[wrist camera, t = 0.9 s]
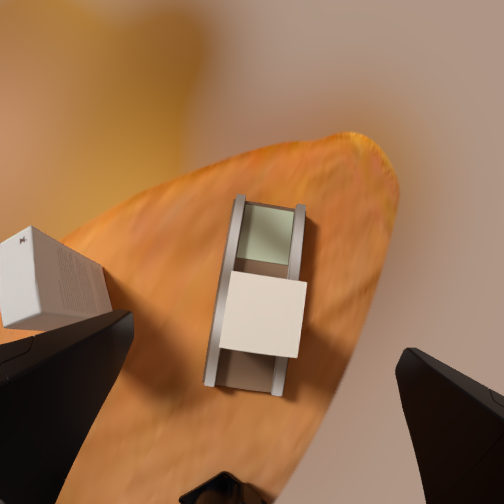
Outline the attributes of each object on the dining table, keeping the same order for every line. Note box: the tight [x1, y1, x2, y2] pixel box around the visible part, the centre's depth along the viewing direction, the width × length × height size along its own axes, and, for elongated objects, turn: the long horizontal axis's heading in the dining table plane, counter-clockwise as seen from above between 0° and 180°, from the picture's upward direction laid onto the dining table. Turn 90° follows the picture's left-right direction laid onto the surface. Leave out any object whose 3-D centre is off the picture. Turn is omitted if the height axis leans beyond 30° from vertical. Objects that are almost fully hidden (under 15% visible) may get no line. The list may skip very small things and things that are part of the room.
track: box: [202, 194, 306, 396], centre depth 25 cm, size 17×7×2 cm, turn 171°
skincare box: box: [0, 226, 113, 331], centre depth 19 cm, size 6×4×12 cm
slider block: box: [219, 271, 307, 358], centre depth 19 cm, size 4×4×10 cm
